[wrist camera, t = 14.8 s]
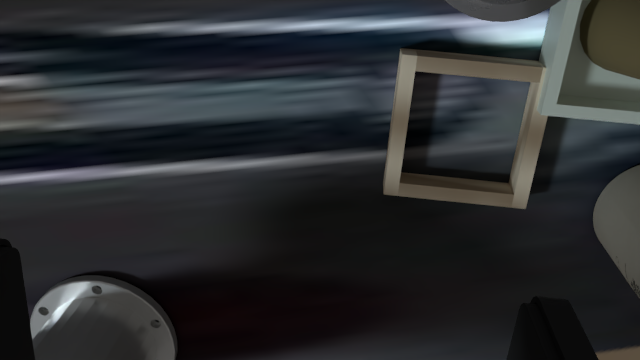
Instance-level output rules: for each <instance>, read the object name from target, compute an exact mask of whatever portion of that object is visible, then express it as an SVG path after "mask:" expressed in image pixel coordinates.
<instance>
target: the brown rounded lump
mask: <svg viewBox="0 0 640 360" xmlns="http://www.w3.org/2000/svg"><path fill="white" fill-rule="evenodd" d="M580 42H581V44H582V47H583V50H584V53H585V54H586V55H587V56H588V58H589V59H590V60H591V61H592V62H593V63H594V64H596V65H598V66H599V67H601V68H603V69H605V70H608V71H612V72H615V73H619V74H622V75H626V76H629V77H632V78H636V79H639V80H640V0H591V1H590V3H589V4H588V6H587V7H586V8H585V10H584V14H583V17H582V20H581V23H580Z"/></svg>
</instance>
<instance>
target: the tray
mask: <svg viewBox="0 0 640 360" xmlns="http://www.w3.org/2000/svg"><path fill="white" fill-rule="evenodd" d="M590 1H591V0H561V1H559V2H558V3H556V4H555V5H553V6H552V7H551V8H550V12H549V17H548V21H547V26H546V30H545V35H544V39H543V43H542V48H541V52H540V57H539V62H541V63H542V64H543V65H544V66H545V67H546V72H545V76H544V80H543V85H542V89H541V93H540V98H539V102H538V106H537V111H538V112H539V113H540V115H545V116H556V117H566V118H577V119H587V120H598V121H608V122H618V123H629V124H639V125H640V80H639V79H636V78H632V77H629V76H626V75H622V74H619V73H615V72H612V71H608V70H605V69H603V68H601V67H599V66H598V65H596V64H594V63H593V62H592V61H591V60H590V59H589V58H588V56H587V55H586V54H585V53H584V50H583V47H582V44H581V42H580V23H581V20H582V17H583V14H584V10H585V8H586V7H587V6H588V4H589V3H590Z"/></svg>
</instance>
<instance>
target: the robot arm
mask: <svg viewBox="0 0 640 360" xmlns="http://www.w3.org/2000/svg"><path fill="white" fill-rule="evenodd" d="M176 355H177V337H176V333H175V329H174V327H173V325H172V323H171V321H170V319H169V317H168V315H167V314H166V313H165V311H164V310H163V309H162V307H161V306H160V305H159V304H158V303H157V302H156V301H155V300H154V299H153V298H152V297H151V296H149V295H148V294H146V293H145V292H143V291H142V290H140V289H139V288H137V287H135V286H133V285H131V284H129V283H127V282H124V281H121V280H118V279H115V278H112V277H105V276H99V275H83V276H78V277H73V278H69V279H67V280H64V281H62V282H59V283H58V284H56V285H55V286H53V287H52V288H50V289H49V290H48V291H47V292H46V293H45V295H44V296H43V297H42V298H41V299H40V300H39V302H38V303H37V304H36V306H35V308H34V310H33V313H32V316H31V320H30V321H29V314H28V307H27V300H26V293H25V287H24V280H23V273H22V266H21V259H20V254H19V251H18V250H17V249H16V248H12V246H11V244H10V242H9V241H8V240H6V239H0V360H176ZM507 360H598V358H597V356H596V354H595V352H594V350H593V348H592V346H591V344H590V342H589V340H588V338H587V336H586V334H585V332H584V330H583V328H582V326H581V324H580V322H579V320H578V318H577V316H576V314H575V312H574V310H573V308H572V306H571V304H570V303H569V301H568V300H565V299H555V298H546V297H537V296H535V297H534V298H533V299H532V301H531V303H530V304H527V303H523V304H522V305H521V306H520V309H519V313H518V317H517V321H516V325H515V329H514V333H513V336H512V340H511V344H510V348H509V352H508V356H507Z"/></svg>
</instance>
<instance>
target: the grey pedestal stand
mask: <svg viewBox="0 0 640 360" xmlns="http://www.w3.org/2000/svg"><path fill="white" fill-rule="evenodd" d="M445 1H446V2H448V3H449V4H450V5H451V6H453V7H454V8H456V9H457V10H459V11H460V12H462V13H465V14H467V15H469V16H471V17H475V18H478V19H481V20H487V21H500V22H505V21H514V20H519V19H524V18H528V17H530V16H533V15H536V14H538V13H541V12H542V11H544V10H546V9H548V8H550V7H552V6H553V5H555V4H556V3H558V2H559V1H561V0H445Z"/></svg>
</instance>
